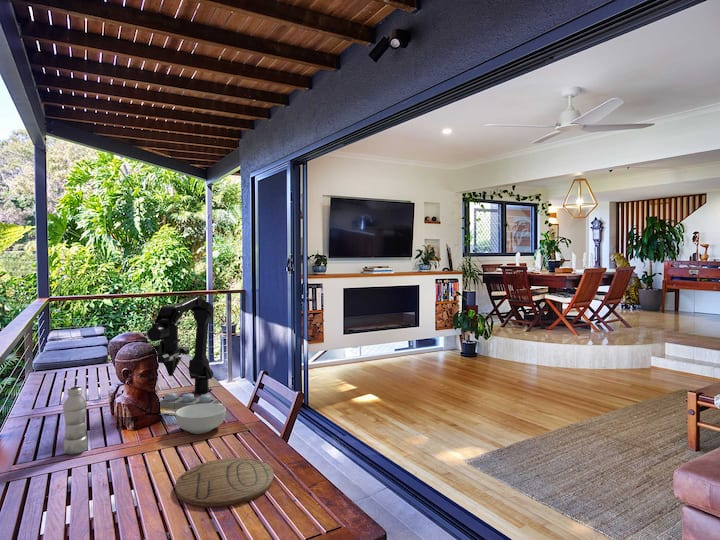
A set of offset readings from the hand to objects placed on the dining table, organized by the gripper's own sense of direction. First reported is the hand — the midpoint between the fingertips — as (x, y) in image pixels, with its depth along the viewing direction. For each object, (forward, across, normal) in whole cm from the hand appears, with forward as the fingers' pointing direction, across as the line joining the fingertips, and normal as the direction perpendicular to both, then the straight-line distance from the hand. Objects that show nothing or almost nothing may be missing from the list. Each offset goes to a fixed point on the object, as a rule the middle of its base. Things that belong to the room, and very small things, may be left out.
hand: (170, 375), depth 187 cm
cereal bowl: (+13, +20, +24) cm, 34 cm away
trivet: (+13, +55, +52) cm, 77 cm away
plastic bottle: (+13, +45, -4) cm, 47 cm away
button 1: (+10, 0, 0) cm, 10 cm away
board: (+13, +1, +8) cm, 15 cm away
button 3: (+10, 0, +15) cm, 18 cm away
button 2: (+10, 0, +7) cm, 13 cm away
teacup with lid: (+13, -9, -18) cm, 24 cm away
